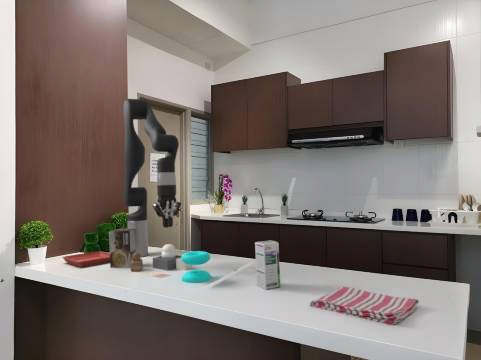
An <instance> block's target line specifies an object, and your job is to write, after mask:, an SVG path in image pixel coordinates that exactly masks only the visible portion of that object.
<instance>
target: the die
mask: <svg viewBox="0 0 481 360" xmlns="http://www.w3.org/2000/svg"><path fill="white" fill-rule="evenodd" d="M191 268H192V265H188V264H185V263H184V262H183V261H182V260H181V258H178V259H176V269H175V270H178V271H186V270H189V269H191Z"/></svg>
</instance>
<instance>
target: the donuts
mask: <svg viewBox="0 0 481 360" xmlns="http://www.w3.org/2000/svg"><path fill="white" fill-rule="evenodd" d="M181 256H182V257H181V260H182V261H183V262H184V263H185V264H188V265H191V266H200V265H204V264H206V263H208V262H209V261H210V260H211V255H210V253H209V252H207V251H203V250H202V251H201V250H197V251H196V250H195V251H193V250H192V251H187V252H185V253H183V254H182V255H181ZM211 279H212V275H211V273H210V272H209V271H206V270H203V269H191V270H188V271H185V272H184V273H183V275H182V277H181V281H182V282H184V283H189V284H197V283H198V284H199V283H206V282H208V281H210V280H211Z"/></svg>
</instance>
